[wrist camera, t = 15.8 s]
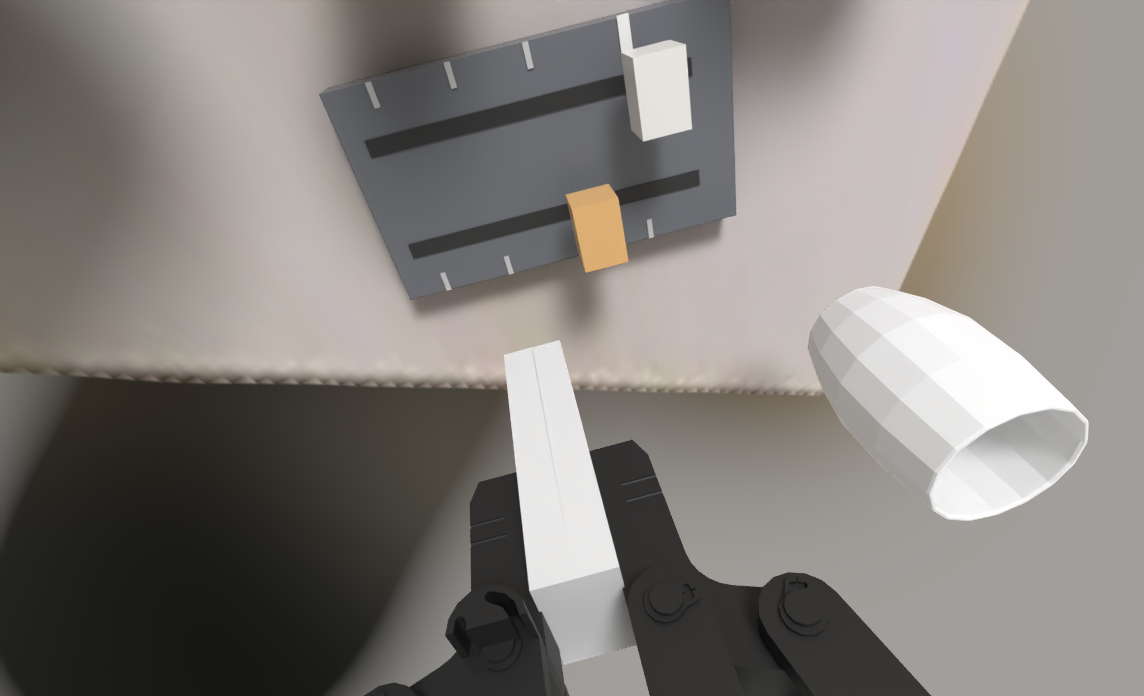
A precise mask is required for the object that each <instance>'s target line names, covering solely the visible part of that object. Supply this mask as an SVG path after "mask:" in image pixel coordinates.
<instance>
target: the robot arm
mask: <svg viewBox="0 0 1144 696" xmlns="http://www.w3.org/2000/svg"><path fill="white" fill-rule="evenodd" d="M504 361H505V370H506V379H507V389H508V398H509V406H510V415H511V425H512V434H513V443H514V453H515V462H516V473H512V474H508V475H504V476H501V477H497V478H493V479H489V480H486V481H482V482H479V483H478V486H477V488H476V490H475V493H474V495H473V498H472V500H471V503H470V526H471V530H470V537H471V539H470V540H471V592H470V593H469V594H467V595H466V596H465V597H464V598H463V599H462V600H461V601H460V602H459V603H458V604H457V606H456V607H455V609H454V611H453V612H452V614H451V616H450V618H449V620H448V624H447V630H446V634H445V636H446V637H447V639H448V640H449V641H450V643H451V644H452V646H453V647H454V648H455V650H456V651H457V652H456V653H455V654H454V655H453V656H452V657H451V659H449V660H448V661H447V662H446V663H444V664H443V665H442V666H441V667H440V668H438V669H436V670H435V671H433V672H432V673H430V674H429V675H427V676H426V677H424V678H423V679H421V680H420V681H418V682H416V683H415V684H414V685H412V686H410V687H408V686H406V685H401V684H397V683H390V684H386V685H382V686H378V687H377V688H375V689H374V690H372V691H371V692H369V693H367V694H366V695H364V696H569V694H568V691H567V688H566V686H565V684H564V678H563V671H562V664H561V659H562V661H563V663H564V665H565V664H569V663H572V662H576V661H580V660H583V659H587V658H591V657H594V656H598V655H602V654H605V653H609V652H612V651H616V650H619V649H623V648H627V647H631V646H634V645H637V647H638V651H639V655H640V659H641V663H642V667H643V670H644V675H645V678H646V683H647V686H648V690H649V694H650V696H931V695H930V694H929V693H928V692H927V691H926V690H925V689H924V688H923V686H922V685H921V684H920V683H919V682H918V681H917V680H916V679H915V678H914V677H913V676H912V674H911V673H910V672H909V671H908V670H907V669H906V668H905V667H904V666H903V664H901V662H900V661H899V660H898V659H897V658H896V657H895V656H894V655H893V654H892V652H891V651H890V650H889V649H888V648H887V647H886V646H885V645H884V644H883V643H882V641H881V640H880V639H879V638H878V637H877V636H876V635H875V634H874V633H873V632H872V630H871V629H870V628H869V627H868V626H867V625H866V624H865V623H864V622H863V621H862V620H861V618H859V616H858V615H857V614H856V613H855V612H854V611H853V610H852V609H851V607H850V606H849V605H848V604H847V603H846V602H845V601H844V600H843V599H842V598H841V597H840V595H839V594H838V593H837V592H836V591H835V590H833V589H832V588H831V587H830V586H828V585H827V584H826V583H825V582H823V581H822V580H820V579H818V578H815V577H813V576H810V575H808V574H805V573H789V572H788V573H785V574H782V575H779V576H776V577H773V578H772V579H771V580H770V581H769V582H768V583H767V584H766V585H765V586H763V587H751V586H735V585H728V584H723V583H719V582H716V581H714V580H712V579H709V578H708V577H706V576H705V575H703V574H702V573H700V572H699V571H698V570H697V569H696V568H695V567H694V566H693V564H692V563H691V562H690V560H689V558H688V556H687V555H686V553H685V550H684V548H683V545H682V542H681V540H680V537H679V534H678V532H677V529H676V527H675V524H674V521H673V519H672V516H671V514H670V511H669V508H668V506H667V503H666V501H665V498H664V496H663V494H662V490H661V488H660V485H659V482H658V480H657V478H656V475H655V472H654V469H653V467H652V464H651V461H650V459H649V456H648V454H647V453H646V452H645V451H644V450H642V449H641V448H640V447H639V446H638V445H637V444H636V443H635V442H634V441H633V440H630V441H626V442H622V443H618V444H615V445H611V446H607V447H604V448H600V449H596V450H593V451H589V449H588V445H587V441H586V438H585V434H584V431H583V426H582V423H581V419H580V415H579V411H578V408H577V404H576V400H575V396H574V392H573V389H572V385H571V381H570V377H569V373H568V370H567V366H566V362H565V358H564V355H563V351H562V347H561V343H560V340H558V341H555V342H551V343H547V344H543V345H539V346H536V347H532V348H528V349H524V350H521V351H517V352H513V353H509V354H505V355H504Z"/></svg>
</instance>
